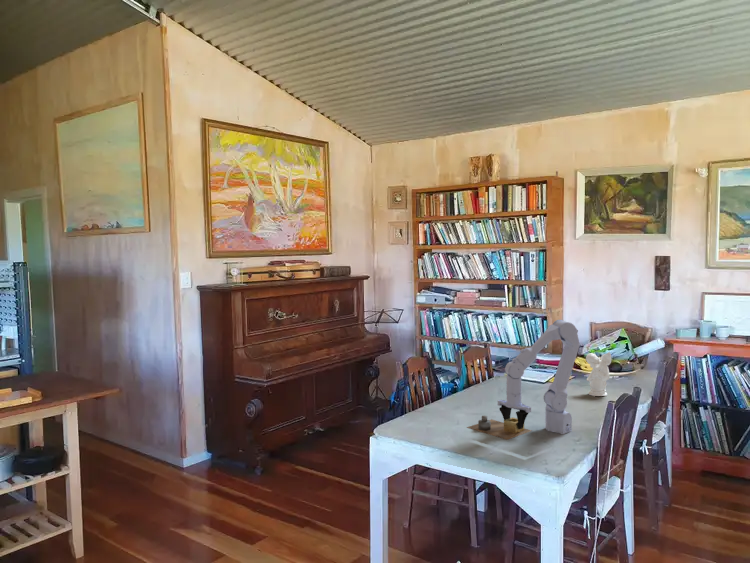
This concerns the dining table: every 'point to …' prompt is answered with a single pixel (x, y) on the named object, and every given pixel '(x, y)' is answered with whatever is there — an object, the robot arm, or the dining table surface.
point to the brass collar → (512, 425)
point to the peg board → (495, 428)
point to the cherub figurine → (598, 373)
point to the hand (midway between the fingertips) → (513, 426)
